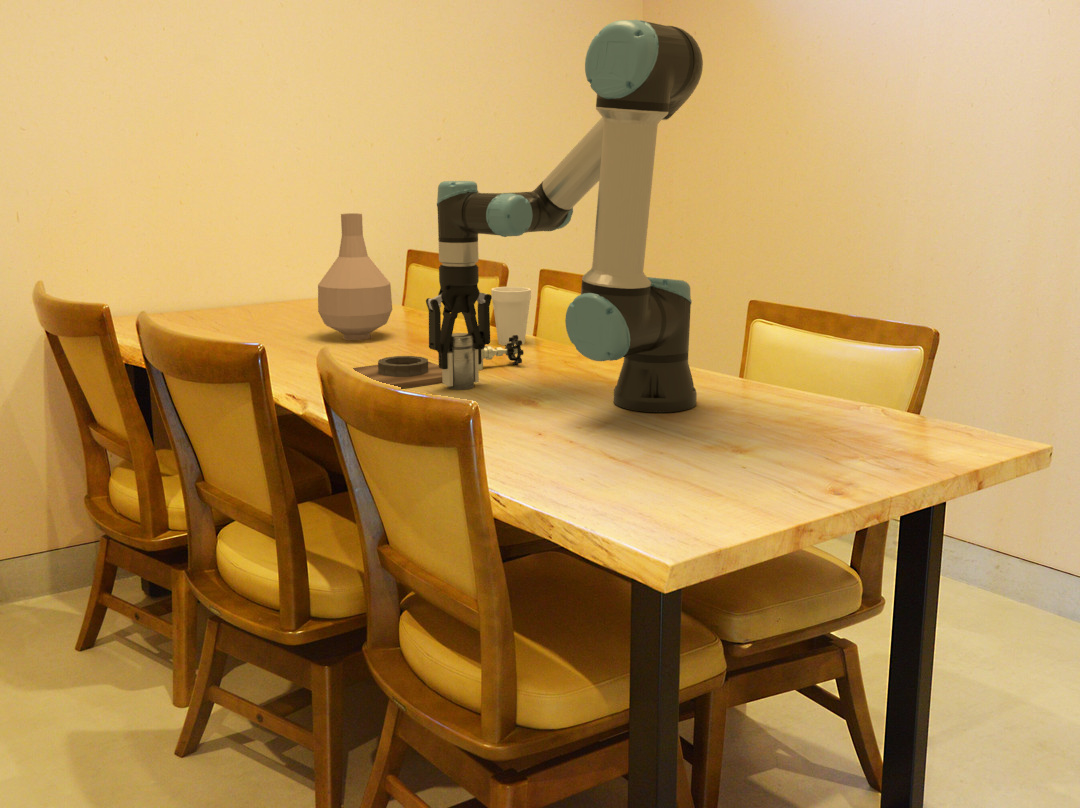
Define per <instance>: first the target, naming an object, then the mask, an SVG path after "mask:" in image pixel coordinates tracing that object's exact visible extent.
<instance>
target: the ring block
mask: <svg viewBox="0 0 1080 808" xmlns="http://www.w3.org/2000/svg"><path fill="white" fill-rule="evenodd" d="M352 368H353V369H354V370H355V371H357V372H359V373H361V374H363V375H365V376H367V377H369V378H371V379H373V380H376V381H379V382H382V383H386V384H390V385H394V386H398V387H401V388H404V389H406V388H405V387H411V388H416V387H423V386H429V385H430V386H431V385H437V384H443V382H442V369H441V368H439V364H437V363H434V362H431V361H429V359H428V358H427V357H424V356H423V357H422V356H415V355H397V356H387V357H383V358H381V359H378V360H377V364H371V365H366V366H359V367H352Z"/></svg>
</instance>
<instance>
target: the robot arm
mask: <svg viewBox="0 0 1080 808" xmlns="http://www.w3.org/2000/svg"><path fill="white" fill-rule="evenodd" d="M585 55H586V56H585V61H584V73H585V77H586V80H587V83H589V84H590V88H591V89H592V90H593V92H595V93H596V101H595V103H596V104H595V109H596V111H597V112H598V114H599V115H600V116H601V118H600V119H599V120H598V121H597V122H596V123H595V124H594V126H592V127H591V129H589V131H588V132H587V133H586V134H585V135H584V136H583V137H582V138H581V139H580V140H579V142H578V143H577V144H576V145H575V146H574V147H573V148H572V149H571V150H570V151H569V153H567V154H566V156H565V157H563V159H562V160H561V161H560V162H559V163H558V164H557V166H556V167H554V169H553V170H552V171H551V172H550V173H549V174H548V175H547V176H546V177H545V178H544V179H543V180H542V181H541V183H539V184H538V185H537V186H536V188H534V189H533V190H532V191H520V192H518V191H517V192H500V193H499V192H497V193H494V192H480V191H478V190H479V189H478V184H477V182H475V181H473V180H445V181H441V182H440V183H438V187H437V199H436V200H437V201H436V207H437V208H436V210H437V229H438V230H437V231H438V232H437V233H438V262H439V263H441V264H440V265H439V266H438V278H439V279H438V282H439V286H440V287H439V291H438V295H436V296H434V297H433V298H430V297H428V298H426V300H425V303H426V307H427V309H428V348H429V349H430V350H432V351H436V352H437V353H438V354H437V355H438V365H439V368H441V369H442V382H443V383H442V385H445V386H446V387H447V386H453V356H452V353H451V352H448V351H449V347H450V342H451V337H452V333H454V328H455V321H456V319H457V318H458V315H459V314H462V316H463V319H464V323H465V326H466V330H467V333H469V334H472V335H473V344H474V347H473V348H474V384H475V383H479V377H480V376H479V373H480V372H479V371H480V370H479V368H478V364H481V362H482V359H481V358H482V357H481V349H484V348H485V346H487V345H490V343H491V325H490V324H491V321H490V319H491V318H490V316H491V315H490V305H491V301H492V294H489V293H484V292H480V289H479V287H478V284H479V277H480V276H479V266H478V265H477V264H476V263H478V262H479V259H480V258H479V235H488V236H489V235H491V236H500V237H504V238H507V237H520V236H522V235H523V234H527V233H535V232H536V233H537V232H552V231H556V230H559V229H563V228H565V227H566V226H567V225H568V224H569V223H570V222H571V220H572V216H573V215H574V214H573V213H574V207H575V206H576V205H577V204H578V203H579V202H580V201H581V200H582V199H583V198H584V197H585V195H587V194H588V193H589V192H590V191H591V190H592V189H593V187H595V185H597V183H598V193H597V203H596V204H597V206H596V217H595V229H594V241H593V253H592V254H593V255H592V264H591V268H590V269H589V270H588V271H587V272H586V273H584V274H583V275H582V278H581V287H580V288H581V289H580V295H577V296H575V298H574V299H573V300H572V302H570V303H569V304H568V306H567V308H566V309H567V310H566V312H565V319H564V320H565V321H564V322H565V329H566V332H567V336H568V338H569V341H570V342H571V344H573V345H574V347H575V349H576V351H578V353H579V354H580V355H582V356H583V357H585V358H586V359H588V360H592V361H595V362H606V361H607V362H608V361H609V362H611V361H617V360H620V359H623V361H622V362H623V363H622V366H621V369H620V372H619V376H618V379H617V384H616V385H615V387H614V389H613V404H614V405H616V406H617V407H619V408H622V409H627V410H628V411H629V410H630V411H635V412H636V411H637V412H642V413H643V412H645V413H674V412H675V413H676V412H681V411H682V412H683V411H687V410H690V409H693V408H694V407H696V405H697V396H698V395H697V389H696V388H695V386H694V381H693V376H692V372H691V368H690V365H689V364H690V363H689V346H690V325H691V324H690V323H691V307H692V306H691V305H692V299H691V286H690V283H688V282H687V281H685V280H681V279H672V278H661V277H651V276H650V277H648V276H647V275H646V273H645V272H644V270H645V269H644V267H645V257H646V247H647V246H646V245H647V235H648V227H649V226H648V225H649V217H650V216H649V215H650V206H651V194H652V185H653V175H654V168H655V167H654V164H655V156H656V146H657V137H658V136H657V134H658V126H659V123H660V122H661V121H668V120H669V119H670V118H672V117H673V115H674V114H676V112H677V111H679V109H680V108H682V106H683V105H684V104H685V103H686V102H687V101H688V100H689V98H690V97H691V96H692V95H693V93H694V91H695V90H696V89H697V86H698V85H699V82H700V80H701V79H702V78H701V77H702V74H703V68H704V67H703V66H704V61H703V53H702V51H701V47H700V46H699V43H698V42H697V41H696V39H695V38H694V37H693V36H692V34H690V33H689V32H687V31H686V30H685V29H682V28H680V27H677V26H673V25H666V24H665V25H664V24H659V23H655V22H650V21H646V20H639V19H622V20H621V19H620V20H615V21H613V22H610V23H608V24H607V25H604V27H602V29H601V30H599V31H598V33H597V34H595V35H594V37H593V39H592V40H591V42H590V44H589V46H588V49H587V51H586V54H585ZM476 302H477V310H476V307H475V304H476ZM442 304H443V311H442V312H441V307H442ZM476 311H477V312H476ZM441 315H442V316H443V318H442V317H441ZM476 315H477V316H476ZM441 318H442V321H441Z"/></svg>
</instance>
